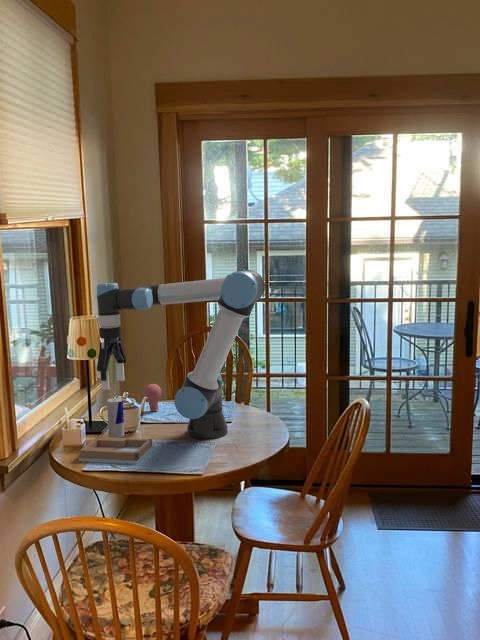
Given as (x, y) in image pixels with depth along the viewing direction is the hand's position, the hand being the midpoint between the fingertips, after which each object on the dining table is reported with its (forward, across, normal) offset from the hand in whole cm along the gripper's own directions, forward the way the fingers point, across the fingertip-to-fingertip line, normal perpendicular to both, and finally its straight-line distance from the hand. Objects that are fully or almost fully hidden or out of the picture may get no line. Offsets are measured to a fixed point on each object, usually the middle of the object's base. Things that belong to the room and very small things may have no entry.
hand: (113, 385), depth 206 cm
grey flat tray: (+20, +14, +6) cm, 25 cm away
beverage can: (+21, 0, 0) cm, 21 cm away
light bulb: (+21, -37, +1) cm, 42 cm away
